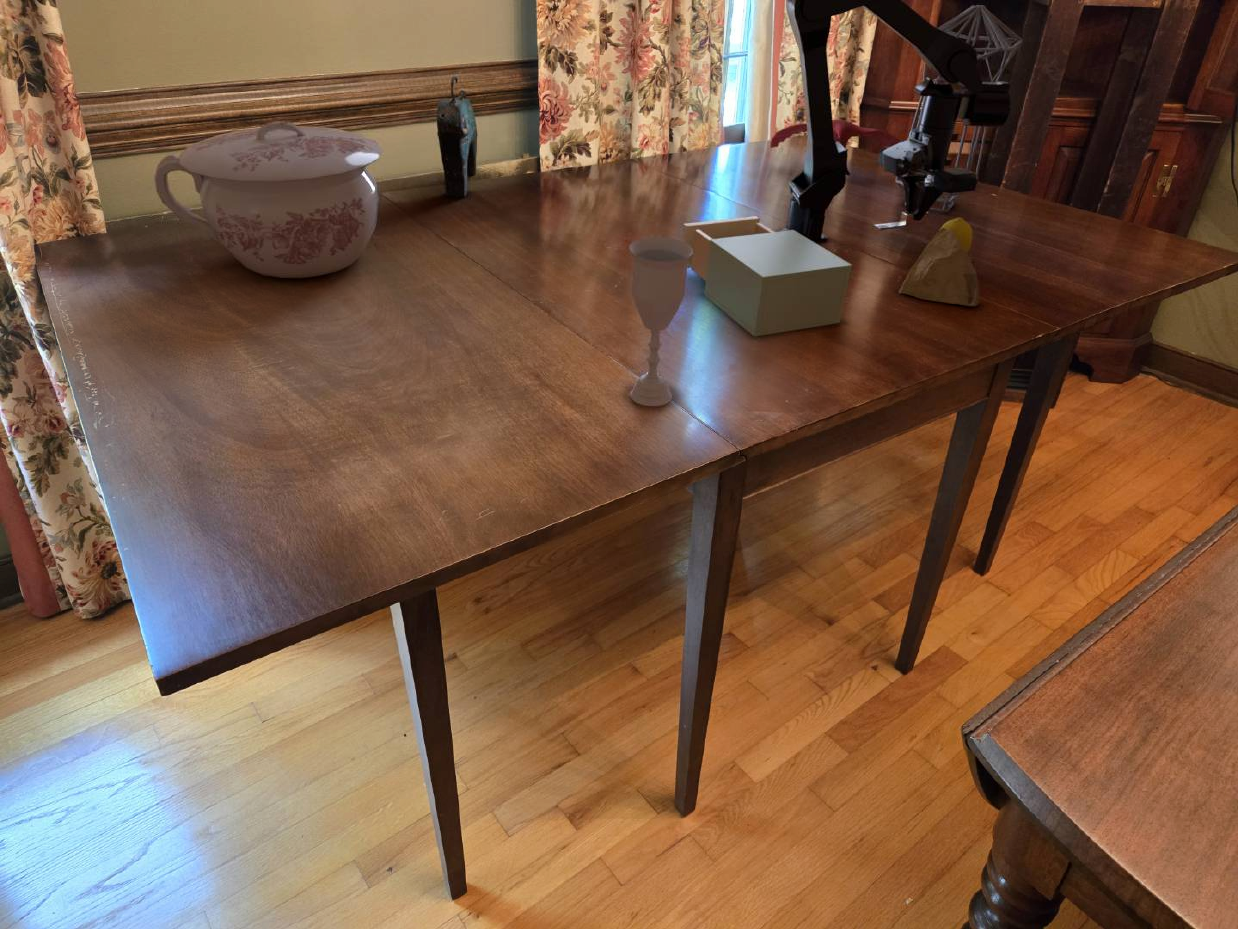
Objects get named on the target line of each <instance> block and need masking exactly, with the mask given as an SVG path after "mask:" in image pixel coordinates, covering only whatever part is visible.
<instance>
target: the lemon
mask: <svg viewBox="0 0 1238 929" xmlns="http://www.w3.org/2000/svg"><path fill="white" fill-rule="evenodd" d="M941 228H945V229H947V230H950V231H952V232H953V233H954V234H955V235H956V237H957V239H958V241H959V242H960V244H961V245H962V247H963V249H964V250H965V251H966V253H967V254H968V253H969V251H970V250H971V246H972V242H973V229H972V226H971V225H970V224H969V223H968V222H967V221H966V220H964V219H963V217H961V216H957V217H956V218H953V219H950V220H948V221H946V222H945V223H944V224H943V225H942V226H941V227H940V229H941ZM940 229H939V230H938V232H939V231H940Z"/></svg>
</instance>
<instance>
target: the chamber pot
mask: <svg viewBox="0 0 1238 929" xmlns="http://www.w3.org/2000/svg"><path fill="white" fill-rule="evenodd" d="M383 151H384V150H383V148H382V147H381V145H380V143H378V142H377V140H375V139H372V138H371V137H368V136H365V135H363V134H362V133H361V134H360V133H356V132H352V131H347V130H342V129H338V128H333V127H321V126H311V125H309V126H308V125H307V126H304V125H303V126H302V125H300V126H299V125H296V124H295V123H293V122H290V121H283V120H276V121H271V122H268V123H265V124H263V125H261V126H260V127H256V128H248V129H241V130H235V131H231V132H227V133H221V134H216V135H214V136H211V137H208V138H206V139H203V140H201V141H197V142H195V143H192V144H190V145H189V146H188V147H187V148H185V149H183V151H181V152H180V154H179V156H177V155H175V154H174V153H171V154H169V153H168V154H167V155H166V156H164V157H163V158H162V159H161V160H160V161H159V163H158V164H157V166H156V168H155V172H154V177H153V180H154V186H155V192H156V193H157V195H158V197H159V199H160V201H161V203H162V204H163V205H164V206H166V208H168V209H169V210H170V211H171V212H172V213H173V214H175V215H176V216H177V217H178V218H179V219H180V220H183V221H185V222H187V223H188V224H190V225H192V226H194V227H195V228H198V229H200V230H202V231H203V232H205V233H206V234H207V235H209V237H212V238H213V239H215V241H217V243H219V244H220V245H221V246H222V247H224V248H225V250H226V251H227V252H228V253H229V254H230V255H231V256H232V257H233V258H234V259H235V260H236V261H237V262H238V263H240V264H241V265H242V266H244V267H245V268H246V269H247V270H250V271H251V272H253V273H255V274H259V275H262V276H266V277H272V278H280V279H309V278H318V277H322V276H326V275H330V274H333V273H336V272H339V271H341V270H344V269H346V268H348V267H350V266H352V265H353V264H354V263H356V262H357V261H359V259H361V257H362V256H363V254H364V252H365V250H366V248H367V246H368V244H369V241H370V240H371V238H372V235H373V234H374V231H375V229H376V227H377V223H378V212H379V192H378V191H379V190H378V184H377V183H378V182H377V181H376V180H375V178H374V176H373V175H372V173H371V171H370V170H369V169H368V168H367V166H370V165H371V164H372V163H375V162H376V161H377V160H378V159H379V158H380V156H381V154H382V152H383ZM176 171H178V172H179V171H180V172H184V173H187V174H188V175H190V176H191V177H192V179H193V182H194V187H195V192H197V193H198V194H199V199H200V203H201V206H202V210H203V214H204V216H205V217H203V216H201V215H198V214H197V213H194V212H192V211H190V210H189V209H188V207H186V206H184V205H183V204H182V203H181V202H180V201H179V200H177V199H176V197H175V196H174V195H173V193H172V191H171V189H170V185H169V179H168V176H169V175H168V174H169V173H171V172H176Z"/></svg>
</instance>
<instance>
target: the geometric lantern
mask: <svg viewBox="0 0 1238 929" xmlns="http://www.w3.org/2000/svg"><path fill="white" fill-rule="evenodd" d="M982 19H983V22H984V27H985V31H986V35H987V36H982V35H981V36H980V35H979V31H980V26H981V20H982ZM972 20H973V21H972ZM971 21H972V25H971V27H970V30H969V32H968V35H965V34H962V33H963V31H964V30H965V29H966V27H968V25H969V23H971ZM963 22H964V23H963ZM962 23H963V25H962V26H961V28H960V29H959V30H958V31H957V32H954V31H953V30H954V29H955V28H957V27H958V26H959V25H961V24H962ZM937 28H938V29H940V30H942V31H944V32H946V33H948V34H950V35H952V36H954V37H956V38H958V39H965V40H966V41H965V42H966V43H968V44H970V42H972V44H971V45H972V46H973V47H974V46H975V44H976V42H977V40H979V41H988V44H987V46H986V47H974V48H975V49H976V51H977V53H978V52H979V53H980V52H982V53H983V54H978V55H977V62H978V61H980V60H985V61H986V66H987V69H988V73H989V78H990V82H997V81H1000V79H1001V77H1002V75H1003V73H1004V71H1005V69H1006V68H1007V65H1008V64H1009V62H1010V61H1011V60H1012V58H1013V57H1014V55H1015V54H1016V52H1017V51H1018V49H1019V48H1020V46H1021V45H1022V43H1023V39H1022V38H1021V37H1020V36H1019V35H1017V33H1015V32H1014V30H1012V29H1011V28H1010V27H1008V26H1007V25H1006V24H1005V23H1003V21H1001V19H999V18H997V17H996V16H995V15H994V14H993V13H992V12H991V11H989V10H988V9H987V6H985V5H984V4H983V5H982V4H981V5H979V4H977V5H974V4H973V5H971V6H970V7H968V8H967V9H965V10H964V11H963V12H961V13H960V14H958V15H957V16H955V17H953V18H952V19H950V20H949V21H947V22H945V23H944V24H941V25H940V26H938V27H937ZM974 30H975V31H974ZM1003 31H1004V32H1006V34H1007V35H1008V36H1009V37H1006V35H1005V34H1004V32H1003ZM973 34H974V36H973ZM978 35H979V36H978ZM993 43H994V45H995V47H991V45H993ZM1014 43H1015V44H1014ZM1013 44H1014V45H1013ZM999 52H1004V55H1003V58H1002V61H1001V64H1000V68H999V69H998V70H997V72H996V74H995V75H994V77H993V75H992V71H991V66H990V62H989V60H988V58H989V57H992V56H993V55H995V54H996V53H999ZM923 63H924V62H923ZM923 65H924V66H923V74H922V82H923V81H924V80H925V79H926V78H927V69H928V66H927V65H926V64H925V63H924V64H923ZM932 80H933V83H938V84H940V83H944V84H949V82H948V81H946V80H944V79H942V78H941V77H939V76H937V78H934V79H932ZM924 100H925V96H920V97H919V100H918V104H917V108H916V109H915V110H916V111H915V115H914V117H913V121H912V124H911V127H910V131H909V133H910V132H911V131H912V129H915V127H916V128H918V125H919V121H920V117H921V112H922V108H923V104H924ZM917 120H918V121H917ZM916 123H917V124H916ZM968 127H969V126H965V125H964V126H963V131H962V135H961V140H960V142H959V143H960V144H959V148H958V152H957V157H956V161H955V166H954V168H959V166H960V160H961V156H962V151H963V148H964V145H965V144H964V143H965V139H966V135H967V130H968ZM988 128H989V127H984V130H983V135H982V139H981V145H980V150H979V153H978V154H979V155H978V160H977V165H976V170H975V173H976V175H977V177H978V178H979V173H980V168H981V164H982V158H983V153H984V149H985V144H986V143H985V142H986V138H987V134H988ZM982 129H983V127H981V126H974V128H973V133H972V139H971V144H970V147H969V148H970V149H969V152H968V153H969V154H968V159H967V162H966V168H965V169H967V170H969V171H972V166H973V164H974V163H973V162H974V159H975V156H976V153H977V148H978V144H979V141H980V136H981V132H982ZM908 138H909V136H908V137H907V139H908ZM930 170H931V171H933V170H932V169H930ZM894 180H895V182H894V183H896V184H897V186H898V187H899V188H900V190H902V191H903V192H904V193H905V190H904V185H903V183H902V181H901V180H900V179H899V178H898V177H897V176H895V179H894ZM965 193H966V192H958V193H945V192H943V194H942V195H945V196H947V197H946V199H944V198H940V197H939V198H938V199H937V200H936V201H935V203H942V204H943V207H942V209H940V208H939V209H938V208H934V207H931V208H930V209H929V210H930V211H935V212H941V213H947V212H949V211H950V210H951V208H953V206H954V205H955V201H956V199H957V198H958V197H960V196H961V195H964V194H965ZM904 206H906V201H905V202H904ZM946 206H947V209H946ZM929 210H928V211H929Z"/></svg>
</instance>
